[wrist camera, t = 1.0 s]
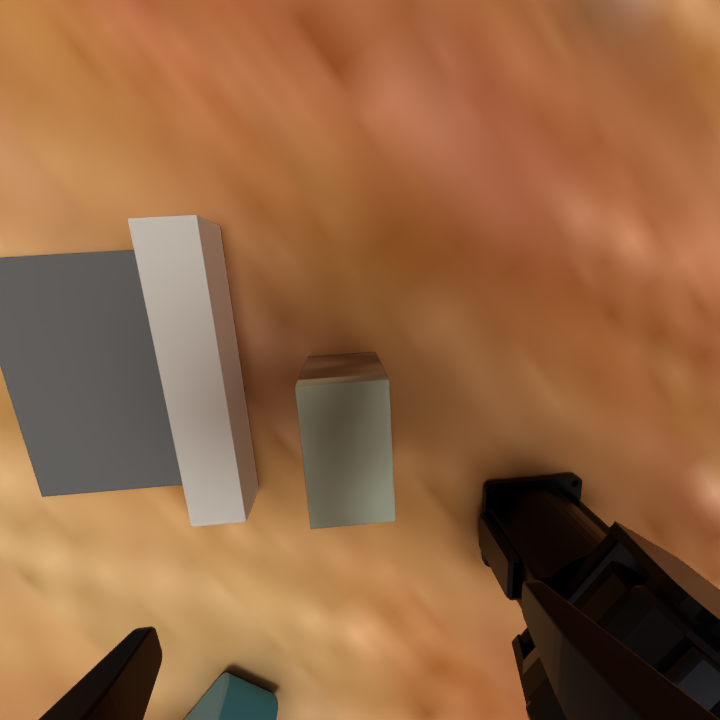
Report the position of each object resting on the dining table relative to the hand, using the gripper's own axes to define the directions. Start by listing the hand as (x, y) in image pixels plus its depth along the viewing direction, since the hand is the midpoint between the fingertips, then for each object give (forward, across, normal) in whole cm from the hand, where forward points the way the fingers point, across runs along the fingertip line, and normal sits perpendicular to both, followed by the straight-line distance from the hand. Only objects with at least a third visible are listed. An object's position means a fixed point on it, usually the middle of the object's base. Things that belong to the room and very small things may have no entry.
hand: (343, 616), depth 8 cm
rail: (+13, +7, -4) cm, 15 cm away
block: (+13, 0, 0) cm, 13 cm away
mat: (+13, +14, -4) cm, 19 cm away
